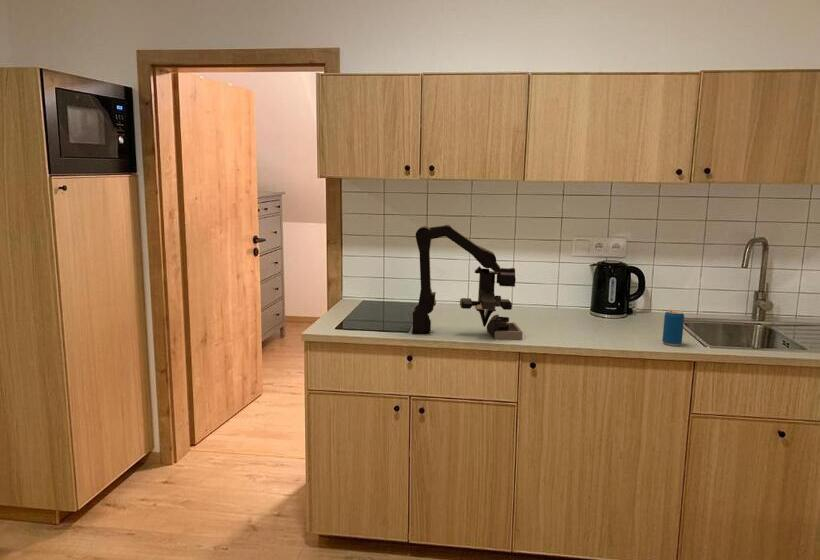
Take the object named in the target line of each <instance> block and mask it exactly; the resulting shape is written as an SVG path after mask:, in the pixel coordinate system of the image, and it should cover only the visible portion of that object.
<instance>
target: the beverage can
mask: <svg viewBox="0 0 820 560" xmlns="http://www.w3.org/2000/svg"><path fill="white" fill-rule="evenodd" d="M663 317H664V318H663V319H664V320H663V328H662V329H663V330H662V342H663V343H664V344H665V346H671V347H679V346H680V345H681V344H682V343H683V334H684V322H685V315H684V312H683V311H682V310H678V309H666V312H665V313H664V316H663Z"/></svg>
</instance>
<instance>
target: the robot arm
mask: <svg viewBox="0 0 820 560" xmlns="http://www.w3.org/2000/svg"><path fill="white" fill-rule="evenodd" d="M445 237H446V238H447V239H449V240H450V241H452V242H453V243H455V244H456V245H457V246H459V247H461V248H462V249H463V250H465V251H466V252H467V253H469V254H470V255H471V256H473V258H474V259H475V260H476V261H477V262H478V263H479V264H480V265H481V266H482V267H483V268H482V267H481V266H480V265H479V266H478V267H477V268H476V269H474V274H479V278H478V280H479V281H478V295H477V296H478V298H477V300H472V299H471V298H468V297H467V298H466V297H465V298H464V297H461V298H460V300H459V306H460V308H461V309H465V310H466V309H468V310H469V309H471V308H473V307H474V309H475V311H477V312H478V313H479V315H480V319H481V322H482V326H483V327H487V324H488V322H489V320H490V316H491V315H492V314H493V313H494V312H496V311H497V310H496V308H497V307H499V308H500V307H501V309H503V311H504V310H505V311H511V310H513V302H511V301H510V299H506V298H503V299H502V296H501V295H495V286H496V285H495V284H498V286H499V287H511V288H512V287H513V288H515V287H516V281H517V279H516V268H515V267H511V268H505V267H504V268H503V267H501V266H500V264H498V262H497V257H496V255H495V253H494V252H493V251H491V250H489V249H486V248H484V247H482V246H480V245H478V244H476V243H474V242H473V241H472V240H470V239H469V238H467V237H466V236H464V234H462V233H460V232H459V231H457V230H456V229H454V228H453V227H452V226H451V225H450V224H445V225H440V226H432V227H430V226H429V227H428V226H426V225H424V226H423V225H422V226H420V227H419V228H418V229H417V230H416V232H415V241H416V245H417V249H418V252H419V272H420V273H419V275H420V278H419V279H420V291H419V298H418V304H417V305H416V306H415V307H414V308H413V311H412V317H411V318H412V320H411V321H412V322H411V334H414V335H421V334H423V335H425V334H426V335H428V334H429V335H430V332H431V331H432V330H431V329H432V319H430V316H429V314H430V313H432V312H433V311H434V307H435V306H436V304H437V300H436V294H437V292H436V291H434V292H433V290H432V286H431V285H432V280H431V254H430V253H431V252H430V251H431V245H432V240H435V239H439V238H445ZM490 269H491V270H492V271H491V270H490Z"/></svg>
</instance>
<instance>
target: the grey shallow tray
mask: <svg viewBox="0 0 820 560" xmlns="http://www.w3.org/2000/svg"><path fill="white" fill-rule="evenodd" d="M506 325H509V330H508V331H495V334H494V337H493V338H494V340H496V341H501V340H502V341H503V340H504V341H507V340H508V341H522V340H523V330H522V329H521V328H520V327H519V325H517V322H507V324H506Z"/></svg>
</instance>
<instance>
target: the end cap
mask: <svg viewBox="0 0 820 560" xmlns="http://www.w3.org/2000/svg"><path fill="white" fill-rule="evenodd" d="M507 323H510V317H508V316H499V314H495V315H493V316H492V317H491V318H490V319H489V320H488V322H487V324H486V331H487V333H488V334H489V335H490V336H491V337H492V338H494V334H495V331H508V330H509V325H506V324H507Z"/></svg>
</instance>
